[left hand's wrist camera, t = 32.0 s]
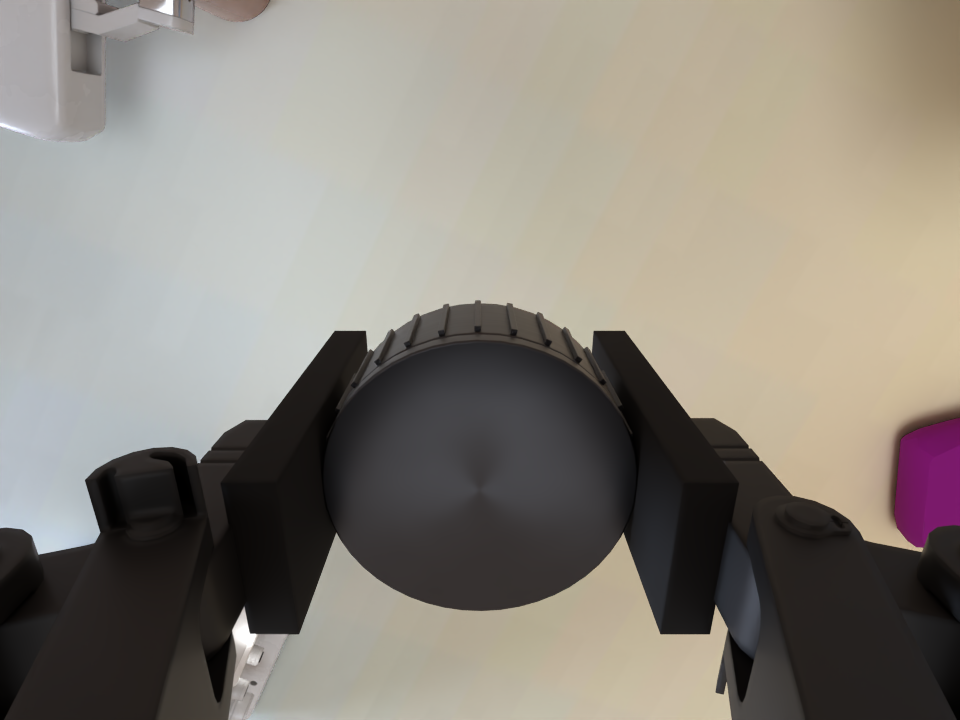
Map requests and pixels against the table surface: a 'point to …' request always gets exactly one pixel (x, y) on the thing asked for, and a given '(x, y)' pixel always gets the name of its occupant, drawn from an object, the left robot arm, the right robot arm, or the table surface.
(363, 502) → the lid
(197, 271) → the table surface
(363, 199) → the table surface
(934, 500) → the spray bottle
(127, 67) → the table surface
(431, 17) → the table surface
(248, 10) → the brown cylinder
